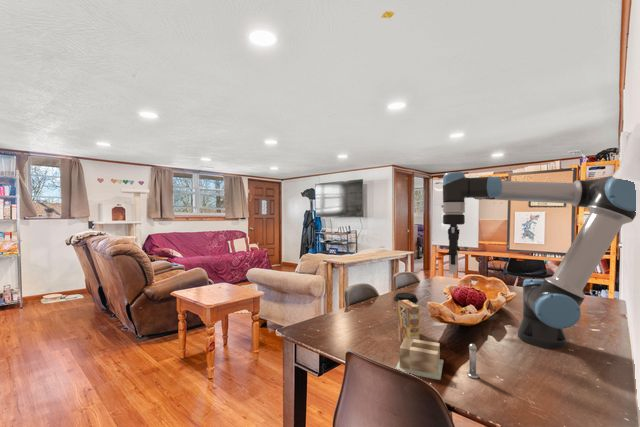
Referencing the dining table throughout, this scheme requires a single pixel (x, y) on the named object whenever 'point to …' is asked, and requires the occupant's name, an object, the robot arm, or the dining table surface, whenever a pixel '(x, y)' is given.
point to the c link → (420, 355)
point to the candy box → (408, 320)
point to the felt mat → (424, 372)
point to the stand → (472, 362)
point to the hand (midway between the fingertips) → (453, 270)
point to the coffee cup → (404, 296)
